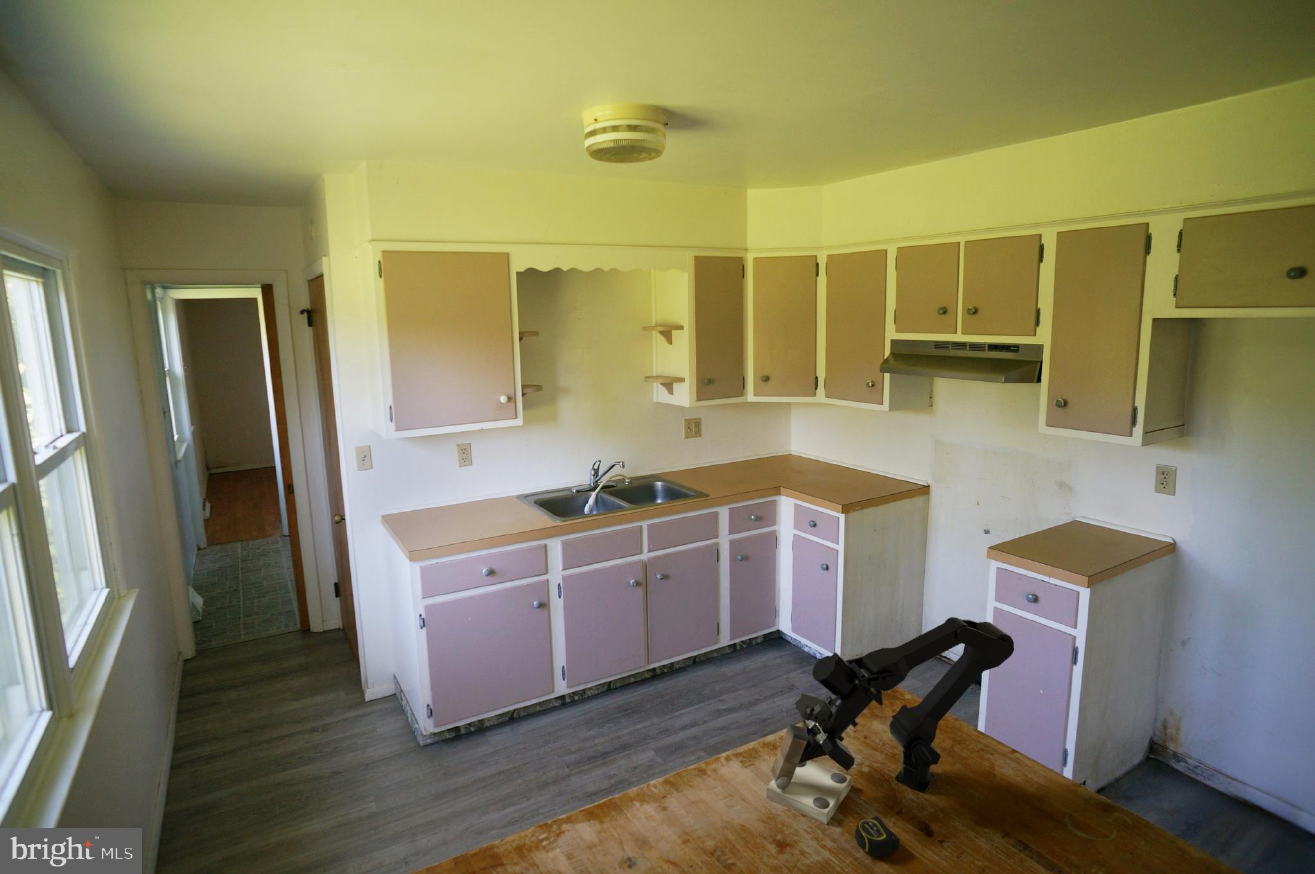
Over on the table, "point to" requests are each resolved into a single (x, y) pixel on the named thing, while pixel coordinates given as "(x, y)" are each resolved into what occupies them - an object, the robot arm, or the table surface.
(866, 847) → the tape measure
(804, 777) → the stool seat
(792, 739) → the folding leg
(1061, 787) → the table surface
